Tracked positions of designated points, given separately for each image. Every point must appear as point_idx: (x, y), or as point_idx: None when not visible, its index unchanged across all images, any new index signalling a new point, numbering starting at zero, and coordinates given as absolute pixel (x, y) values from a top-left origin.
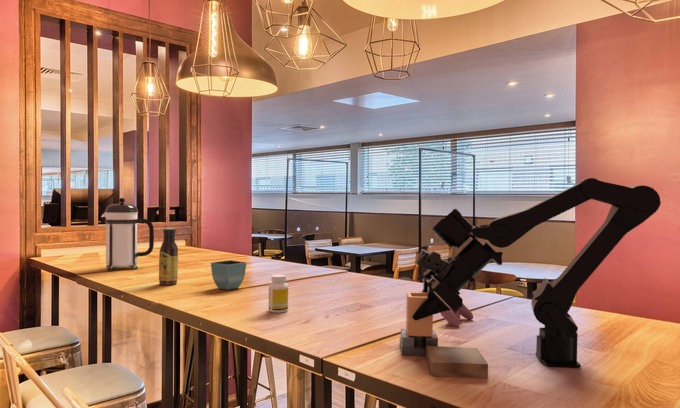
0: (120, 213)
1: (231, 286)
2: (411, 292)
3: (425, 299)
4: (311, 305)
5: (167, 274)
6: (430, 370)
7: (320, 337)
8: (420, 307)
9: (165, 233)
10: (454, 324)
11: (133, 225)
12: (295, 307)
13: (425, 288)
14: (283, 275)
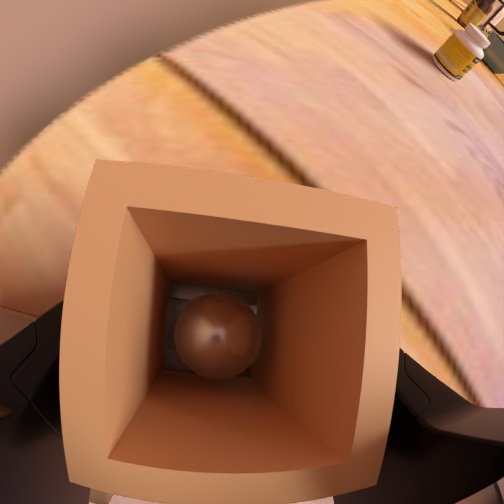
0: None
1: (487, 60)
2: (383, 259)
3: (16, 369)
4: (491, 127)
5: (465, 15)
6: (10, 309)
7: (314, 68)
8: (52, 309)
9: None
10: None
11: (501, 5)
12: (471, 99)
13: (438, 446)
14: (487, 40)
